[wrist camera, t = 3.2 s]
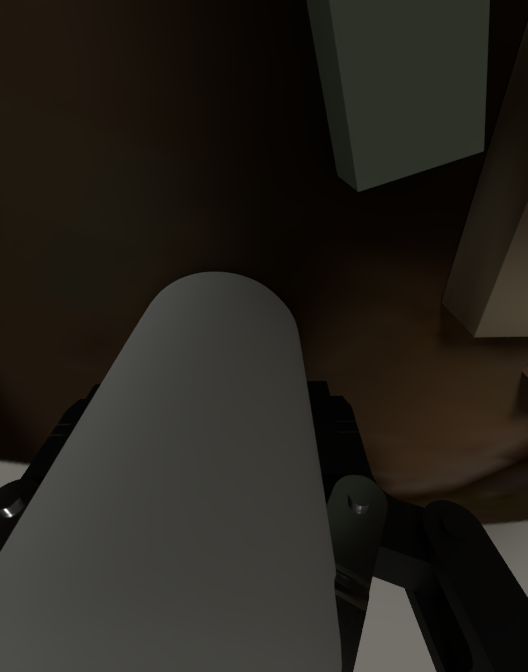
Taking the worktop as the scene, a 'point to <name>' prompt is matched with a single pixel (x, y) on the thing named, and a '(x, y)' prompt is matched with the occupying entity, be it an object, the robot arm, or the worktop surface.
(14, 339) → the worktop surface
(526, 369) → the brick terracotta
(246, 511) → the can
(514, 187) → the oak pad
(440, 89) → the brick sage
